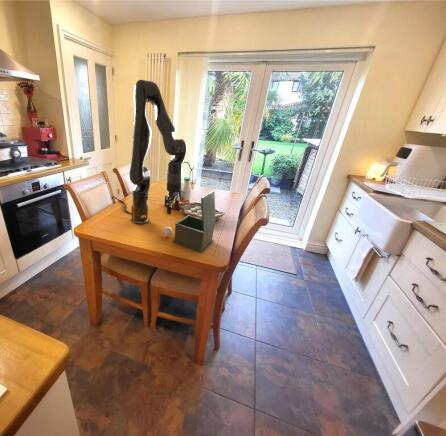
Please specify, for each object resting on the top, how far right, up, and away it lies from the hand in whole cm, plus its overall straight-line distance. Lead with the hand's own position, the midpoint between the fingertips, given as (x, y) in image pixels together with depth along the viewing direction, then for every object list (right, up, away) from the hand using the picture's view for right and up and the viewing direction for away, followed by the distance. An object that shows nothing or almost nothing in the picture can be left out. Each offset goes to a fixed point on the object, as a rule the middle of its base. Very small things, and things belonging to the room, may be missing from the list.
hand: (172, 211), depth 123 cm
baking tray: (+20, -2, +33) cm, 38 cm away
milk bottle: (+11, +7, +50) cm, 51 cm away
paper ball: (-3, -14, +6) cm, 15 cm away
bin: (+11, -16, +2) cm, 19 cm away
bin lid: (+17, 0, -10) cm, 19 cm away
